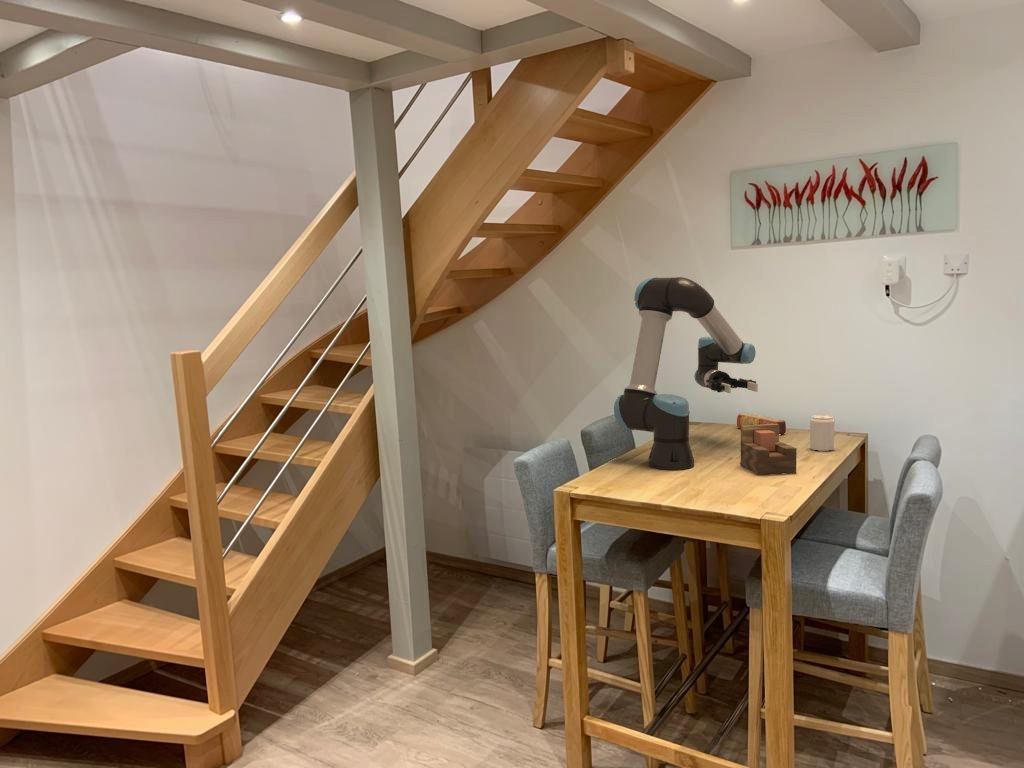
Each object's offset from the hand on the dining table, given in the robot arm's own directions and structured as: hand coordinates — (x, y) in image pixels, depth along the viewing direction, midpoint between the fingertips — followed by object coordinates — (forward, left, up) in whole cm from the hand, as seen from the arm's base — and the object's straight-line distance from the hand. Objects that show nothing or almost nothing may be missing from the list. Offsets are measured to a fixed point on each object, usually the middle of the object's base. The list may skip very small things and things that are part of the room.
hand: (743, 388), depth 277 cm
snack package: (-19, +45, -24) cm, 55 cm away
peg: (+10, -7, -18) cm, 22 cm away
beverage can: (+15, +28, -24) cm, 40 cm away
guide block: (+16, -11, -24) cm, 31 cm away
